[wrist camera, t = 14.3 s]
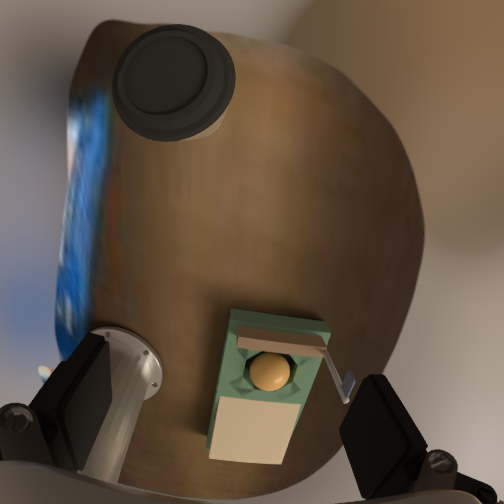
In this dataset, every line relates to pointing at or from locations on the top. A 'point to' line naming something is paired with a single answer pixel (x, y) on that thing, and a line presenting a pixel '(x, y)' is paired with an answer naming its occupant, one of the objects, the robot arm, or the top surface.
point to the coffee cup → (174, 83)
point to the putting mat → (260, 401)
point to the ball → (269, 371)
